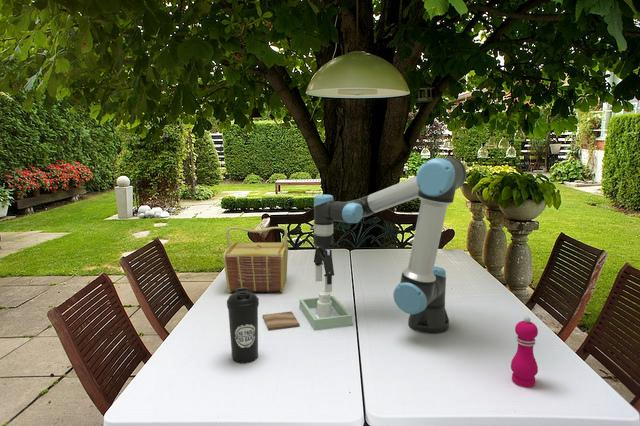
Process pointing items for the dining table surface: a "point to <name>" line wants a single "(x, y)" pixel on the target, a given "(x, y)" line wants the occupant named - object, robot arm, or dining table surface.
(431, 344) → the dining table surface
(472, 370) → the dining table surface
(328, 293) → the downlight
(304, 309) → the bin
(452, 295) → the dining table surface
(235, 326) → the water bottle
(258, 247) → the picnic basket
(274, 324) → the pad
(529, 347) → the pepper mill
